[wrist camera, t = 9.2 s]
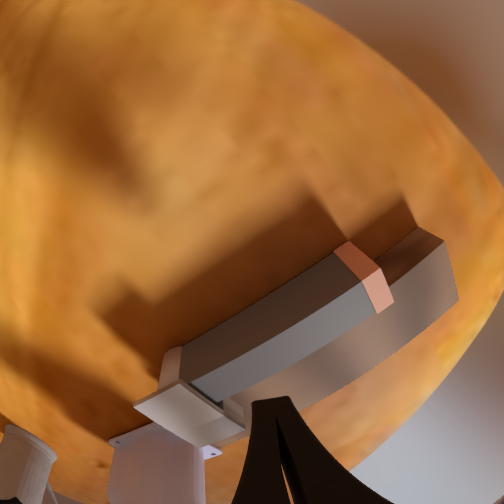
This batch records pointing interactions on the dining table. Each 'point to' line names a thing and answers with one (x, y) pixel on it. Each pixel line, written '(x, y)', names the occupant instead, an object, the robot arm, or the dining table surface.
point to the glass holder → (24, 467)
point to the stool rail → (323, 350)
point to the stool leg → (281, 326)
